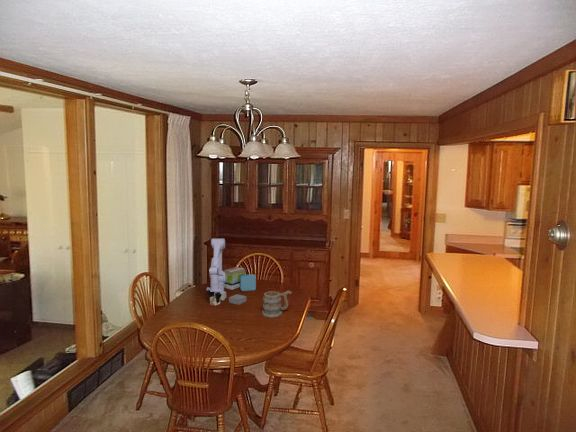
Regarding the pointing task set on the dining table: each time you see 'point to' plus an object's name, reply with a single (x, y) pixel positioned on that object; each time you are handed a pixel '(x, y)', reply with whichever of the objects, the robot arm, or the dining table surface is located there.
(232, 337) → the dining table surface
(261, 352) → the dining table surface
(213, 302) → the maple cube
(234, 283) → the tea box
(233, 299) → the base block
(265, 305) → the tankard
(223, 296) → the sage block
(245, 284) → the data package
